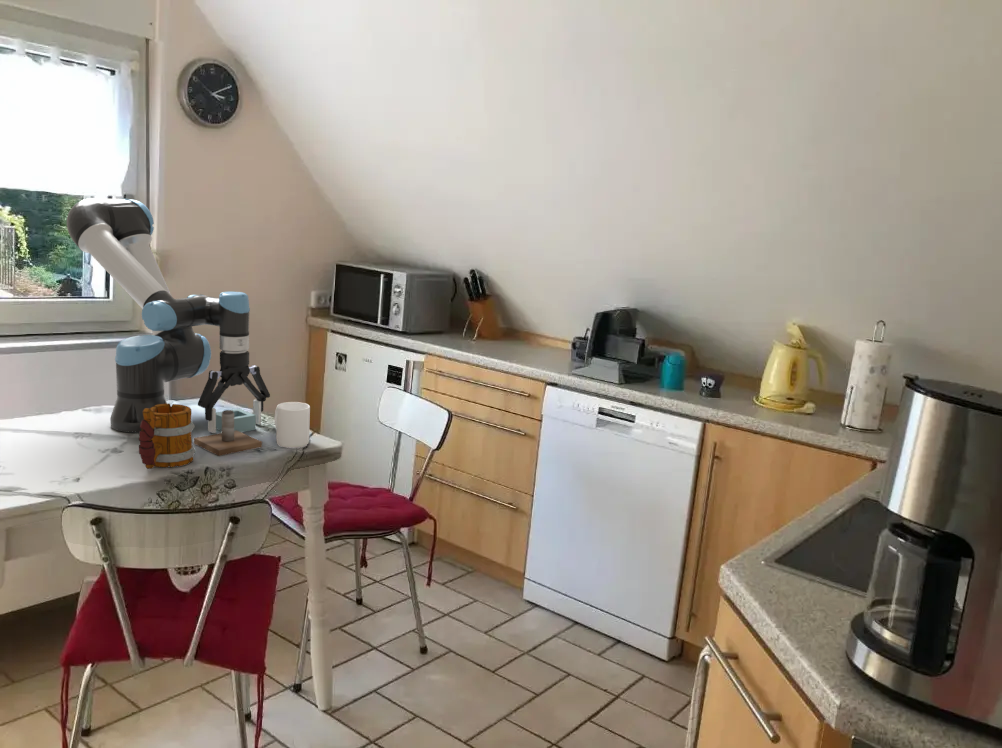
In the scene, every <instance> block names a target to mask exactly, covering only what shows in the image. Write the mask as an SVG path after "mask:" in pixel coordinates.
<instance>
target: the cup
mask: <svg viewBox="0 0 1002 748" xmlns="http://www.w3.org/2000/svg"><path fill="white" fill-rule="evenodd" d="M310 413H311V406H310V405H309V404H308V403H306V402H299V401H288V402H281V403H278V404H277V405H276V408H275V412H274V417H273V418H274V419H273V420H274V427H275V429H276V436H275V437H276V444H277V445H278V446H279V447H281V448H285V449H299V448H300V447H301V448H304V447H306V446H308V445H307V444H309V442H310V427H311V426H310V421H311V420H310V419H311V418H310V417H311V416H310V415H311V414H310ZM303 446H304V447H303ZM301 448H300V449H301Z"/></svg>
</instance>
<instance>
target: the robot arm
mask: <svg viewBox="0 0 1002 748" xmlns="http://www.w3.org/2000/svg"><path fill="white" fill-rule="evenodd" d="M153 225H155V223H154V218H153V214H152V212H151V211H150V210H149V208H148V207H147V206H146V205H145V203H142V202H141V201H139V200H136V199H130V198H95V197H90V198H89V197H88V198H83V199H82V200H81V199H80V200H79V201H78V202H76V203H75V204H73V206H72V207H71V208H70V210H69V211H68V213H67V218H66V228H67V231H68V234H69V237H70V238H71V239H72V242H73V243H74V244H75V245H76V246H77V248H79V249H80V251H82V252H83V253H86V254H90V255H91V256H92V257H93V258H94V259H95V261H96V262H98V263H99V265H100V266H101V267H102V268H103V269H104V270H105V271H106V273H108V274H109V275H110V276H111V277H112V278H113V279H114V280H115V282H116V283H117V284H118V285H119V286H120V287H121V288H122V290H124V291H125V292H126V293H127V294H128V295H129V296H130V297H131V299H132V300H133V301H134V302H135V303H136V304H137V305H138V306H139V307H140V308H141V319H142V320H143V322H144V323H143V324H144V326H145V327H146V328H147V329H149V330H150V331H151V332H152V334H144V335H143V334H142V335H136V336H135V335H134V336H131V337H127V338H125V339H122V340H120V341H119V342H118V343H117V345H116V348H115V358H114V360H115V372H116V399H115V402H114V405H113V408H112V411H111V414H110V418H109V421H110V425H109V426H110V428H112V429H113V430H114V431H119V432H123V433H133V434H135V433H136V434H137V433H139V434H140V431H142V430H141V429H140V425H141V422H142V420H143V419H144V417H143V410H144V409H145V408H151V407H153V406H155V405H159V404H168V402H167V399H166V397H165V383H169V382H173V381H178V380H182V379H191V378H193V377H195V376H199V375H202V374H203V373H204V372H206V371H207V369H208V368H209V366H210V361H211V359H212V349H211V344H210V342H209V340H208V339H207V338H206V337H205V336H204V335H202V334H200V333H197V332H195V331H194V329H193V327H196V326H204V325H206V326H207V325H209V326H215V327H219V330H218V331H219V350H221V351H220V352H219V366H220V369H219V371H214V370H213V369H212V370H209V372H208V376H207V377H208V378H207V381H206V383H205V386H204V388H203V390H202V391H201V392H202V393H201V394H200V395H201V396H200V397H199V400H198V401H197V406H198V407H201V408H203V409H204V419H205V420H206V421H207V431H208V432H210V433H212V434H217V429H216V412H217V410H216V408H214V407H215V405H216V404H217V403H218V401H219V400H220V398H221V397H222V396H223V394H224V393H225V391H226V390H228V389H229V387H230V386H231V387H235V386H242V385H244V387H245V388H246V389H247V390H248V391H249V392H250V393H251V394H252V396H253V397H254V398H255V399H253V400H252V402H253V405H252V409H253V410H252V414H254V415H256V425H258V426H259V425H261V424H262V412H264V402H265V401H267V399H268V398H270V397H271V394H270V392H269V390H268V387H267V386H266V384H265V381H264V379H263V376H262V375H261V369H260V366H258V365H255V364H252V365H250V351H249V349H250V312H251V311H250V310H251V307H250V299H249V295H248V294H247V293H245V292H242V291H222V292H220V294H218V295H219V296H218V297H216V296H209V295H205V294H190V295H188V296H187V297H184V298H174V297H173V296H172V293H171V292H170V289H169V287H168V285H167V283H166V280H165V278H164V276H163V273H162V271H161V268H160V266H159V264H158V261H157V260H156V257H155V255H154V253H153V250H152V248H151V247H150V244H151V242H152V241H153V237H152V235H153V232H154V229H155V227H154V226H153ZM249 365H250V366H249ZM249 374H251V376H252V378H253V381H254V383H255V384H256V386H257V388H258V389H257V388H256V386H255V385H254V384H253V383H252V381H251V380H250V379H249V378H248V376H249ZM219 379H220V380H219ZM218 380H219V381H218ZM216 385H217V386H216Z"/></svg>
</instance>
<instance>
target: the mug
mask: <svg viewBox="0 0 1002 748" xmlns="http://www.w3.org/2000/svg"><path fill="white" fill-rule="evenodd" d="M143 417H144V419H143V420H142V422H141V425H140V429H141V430H142V431H140V433H139V434H138V435H139V436H138V441H139V444H138V454H139V455H140V458H141V462H142V464H144V465H145V468H146V469H147V470H148V469H149V470H152V469H154V468H164V469H167V468H169V467H170V468H176V467H177V466H178V468H179V467H183V465H184V466H187V465H189V464H190V463H192V462H194V456H195V454H196V452H197V451H196V449H195V446H194V445H193V443H192V431H193V430H194V429H195V424H194V423H193V420H192V409H191V407H190V406H187V405H183V404H178V403H177V404H176V403H172V404H171V403H167V404H159V405H155V406H153V407H151V408H145V409H144V410H143Z"/></svg>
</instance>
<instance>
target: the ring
mask: <svg viewBox="0 0 1002 748" xmlns="http://www.w3.org/2000/svg"><path fill="white" fill-rule="evenodd" d="M231 410H232V411H233V412H234V431H235V430H237V431H239V432H241V433H244V432H249V431H255V430H256V426H257V424H256V415H254V414H253V413H251V412H249V411H246V410H244V409H242V408H236V409H235V408H234V409H231ZM223 411H224V410H223ZM223 411H216V430H219V431H221V432H222V413H223Z"/></svg>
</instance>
